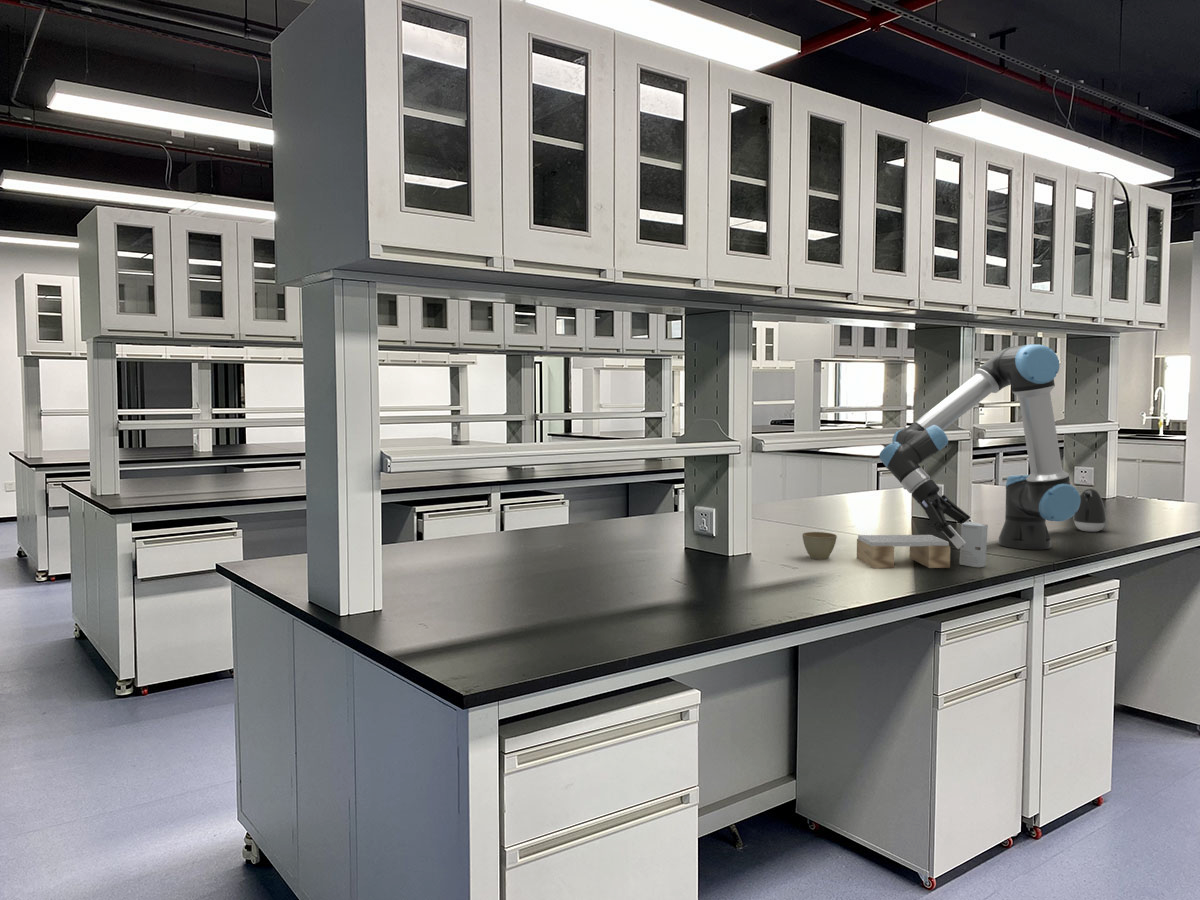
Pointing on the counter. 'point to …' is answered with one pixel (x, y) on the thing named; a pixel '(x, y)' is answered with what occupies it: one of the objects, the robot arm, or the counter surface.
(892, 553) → the oak blocks
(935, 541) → the bridge plate
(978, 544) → the skincare box
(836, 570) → the counter surface
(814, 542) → the flower pot
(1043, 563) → the counter surface
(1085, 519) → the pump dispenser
